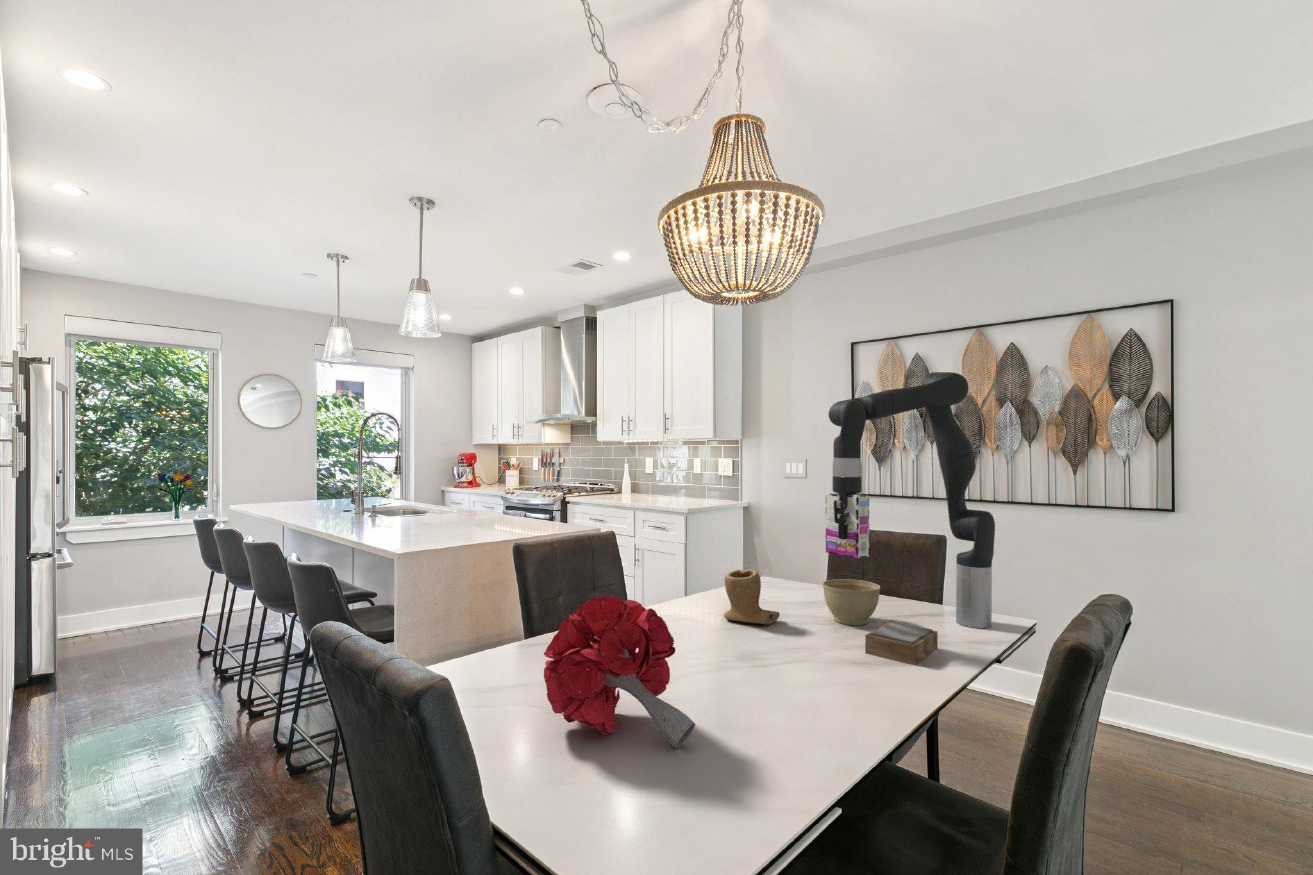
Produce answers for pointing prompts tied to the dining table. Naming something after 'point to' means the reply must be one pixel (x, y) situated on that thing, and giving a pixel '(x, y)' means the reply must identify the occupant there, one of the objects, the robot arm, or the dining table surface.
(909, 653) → the stand
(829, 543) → the candy bar box
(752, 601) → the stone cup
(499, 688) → the dining table surface
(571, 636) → the bouquet
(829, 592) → the planter bowl
